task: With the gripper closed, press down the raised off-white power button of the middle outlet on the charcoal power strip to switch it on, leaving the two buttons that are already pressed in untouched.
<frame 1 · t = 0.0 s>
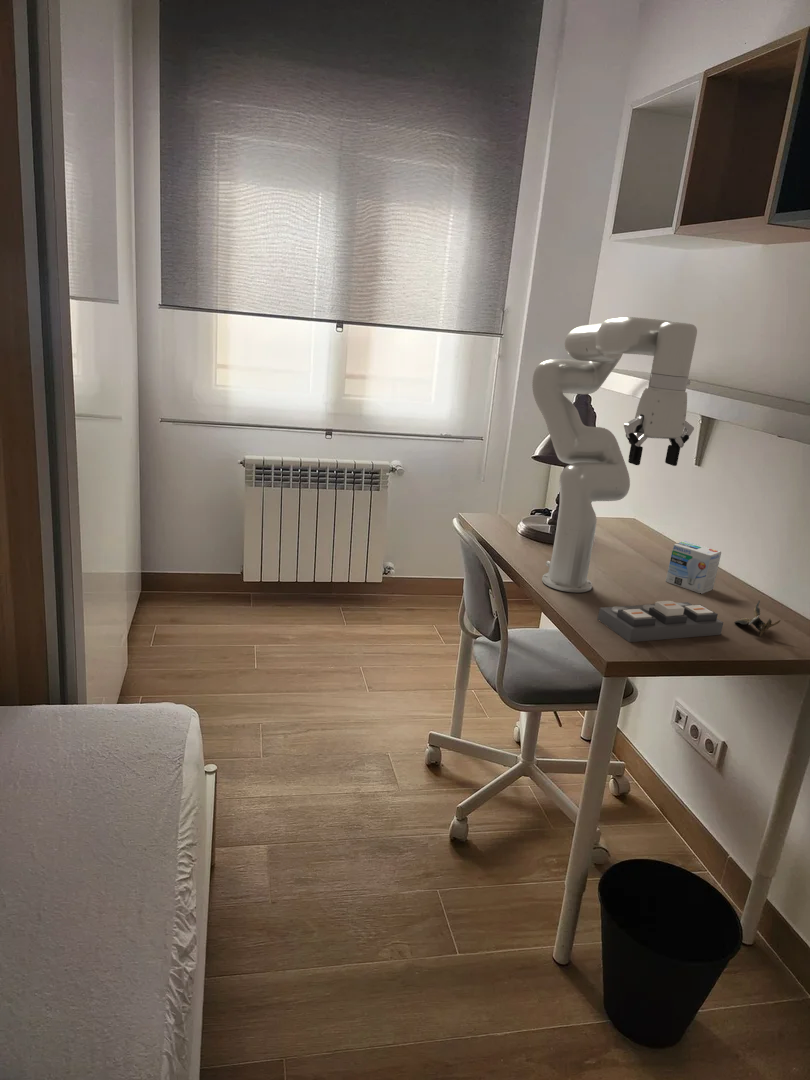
hand: (652, 464, 167), 37 cm above the table, tool pointing down, fingers open, 9 cm apart
eagle figurine: (752, 630, 181), on the table
right button: (698, 612, 177), point 4 cm above the table, slide at 1.5 cm
left button: (636, 616, 170), point 4 cm above the table, slide at 1.5 cm
middle button: (669, 608, 173), point 5 cm above the table, slide at 0.0 cm
light bulb box: (689, 586, 207), on the table
power strip: (658, 627, 176), on the table
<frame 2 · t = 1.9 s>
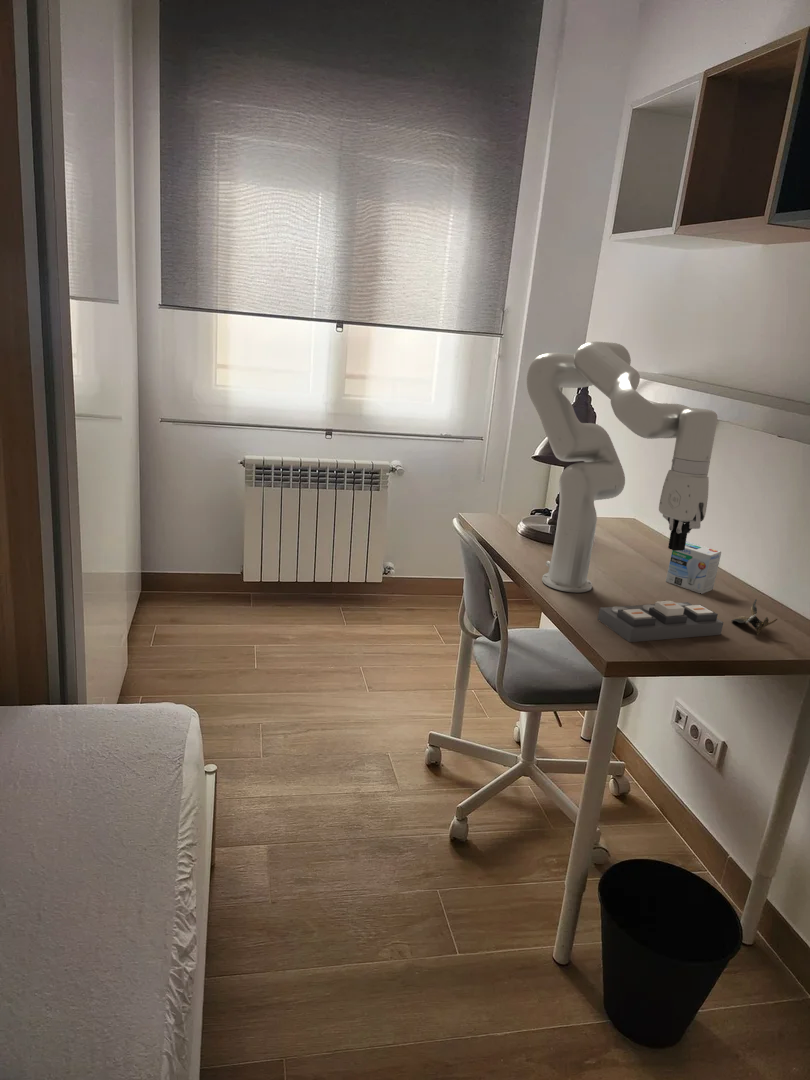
hand: (676, 549, 171), 19 cm above the table, tool pointing down, fingers closed
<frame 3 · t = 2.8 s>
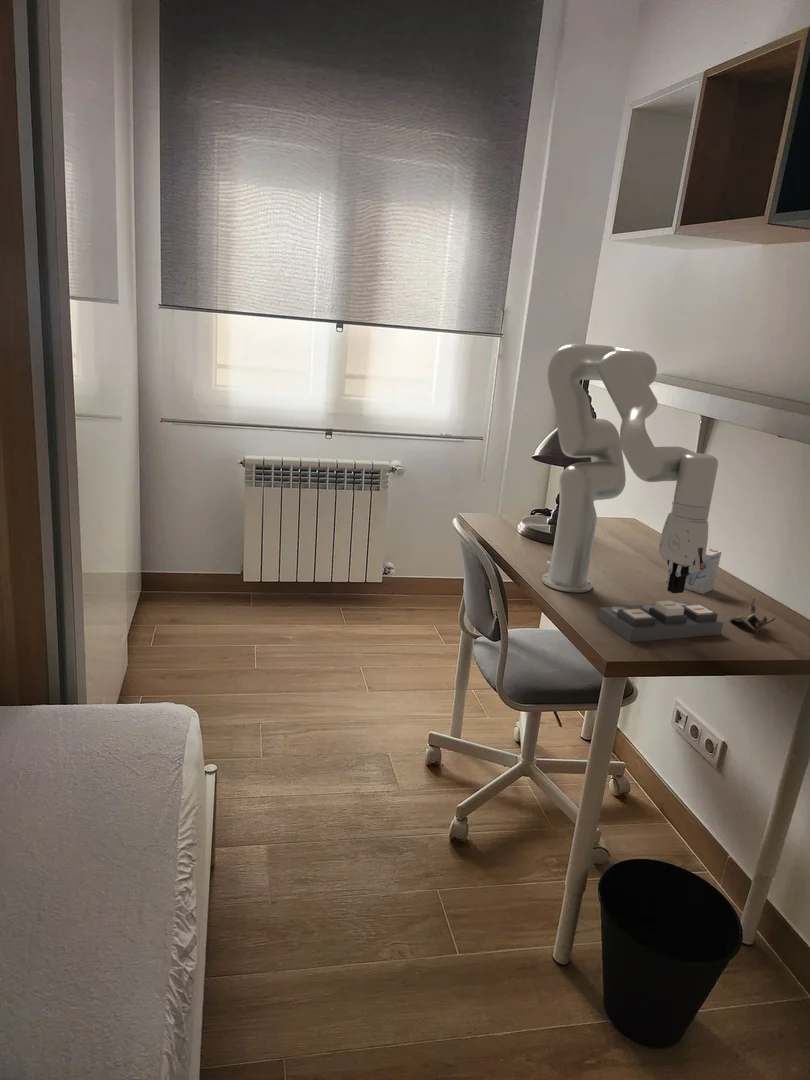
hand: (675, 591, 171), 10 cm above the table, tool pointing down, fingers closed
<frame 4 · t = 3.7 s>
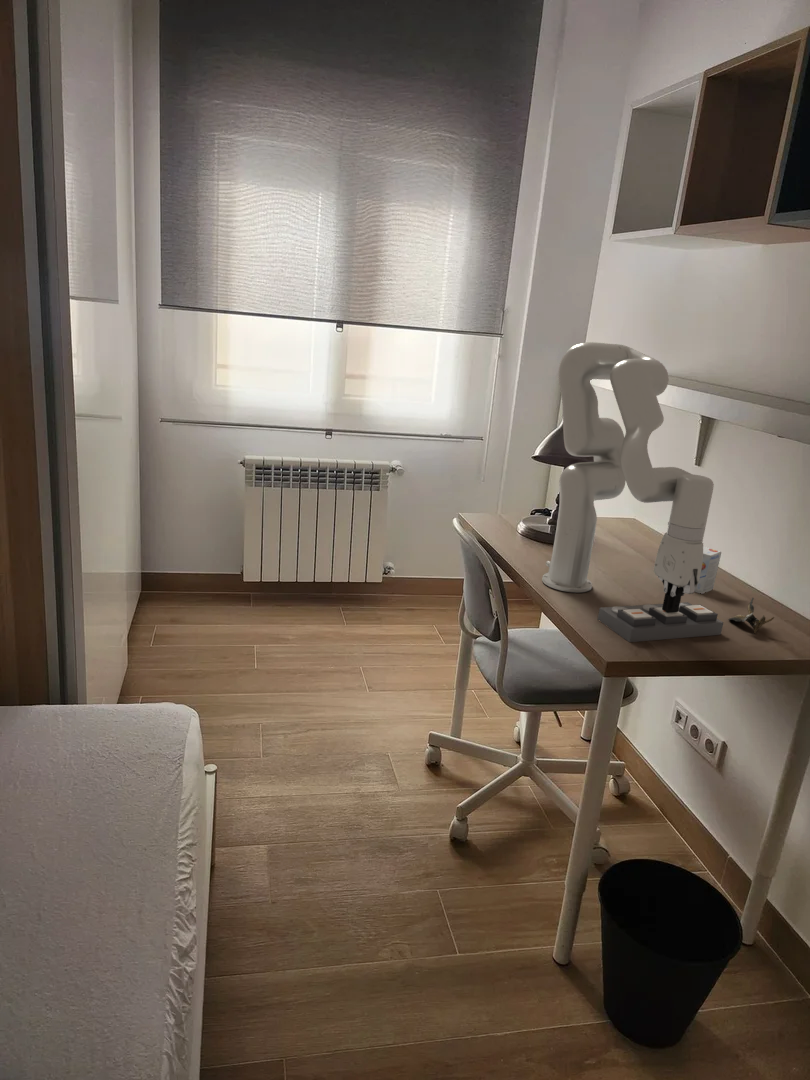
hand: (670, 610, 173), 5 cm above the table, tool pointing down, fingers closed
middle button: (667, 614, 173), point 4 cm above the table, slide at 1.5 cm, touching gripper
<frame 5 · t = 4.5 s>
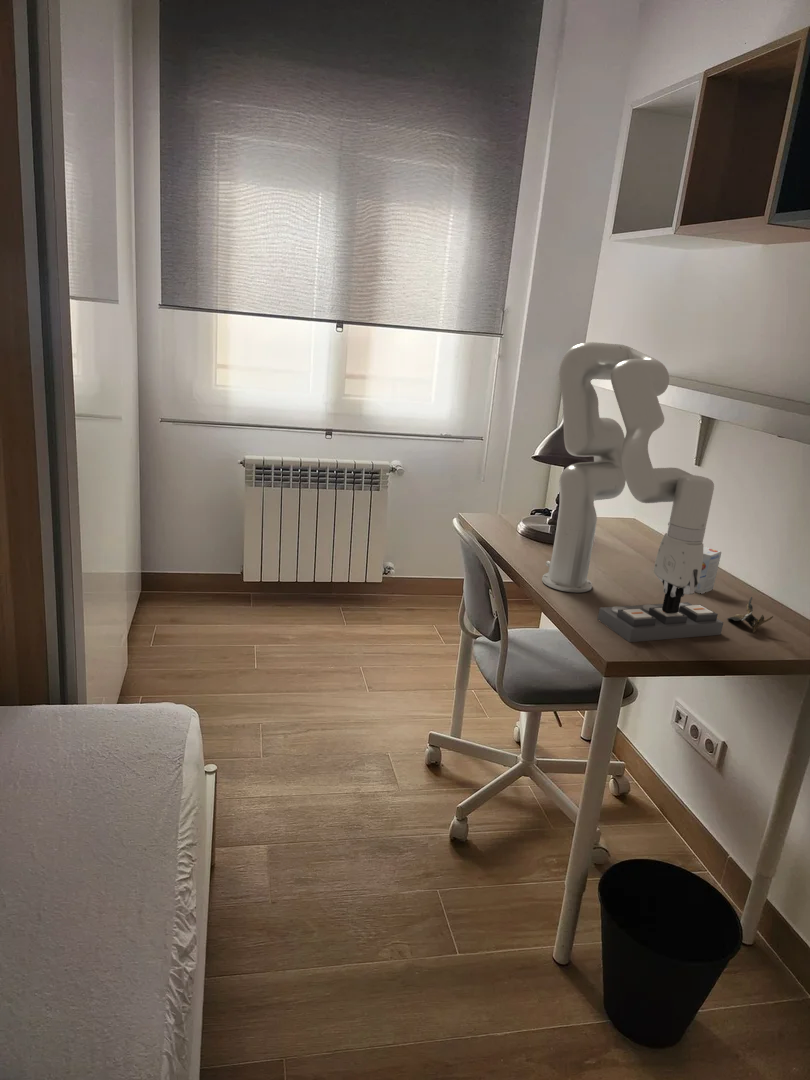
hand: (669, 611, 173), 5 cm above the table, tool pointing down, fingers closed
middle button: (667, 614, 173), point 4 cm above the table, slide at 1.6 cm, touching gripper, power strip
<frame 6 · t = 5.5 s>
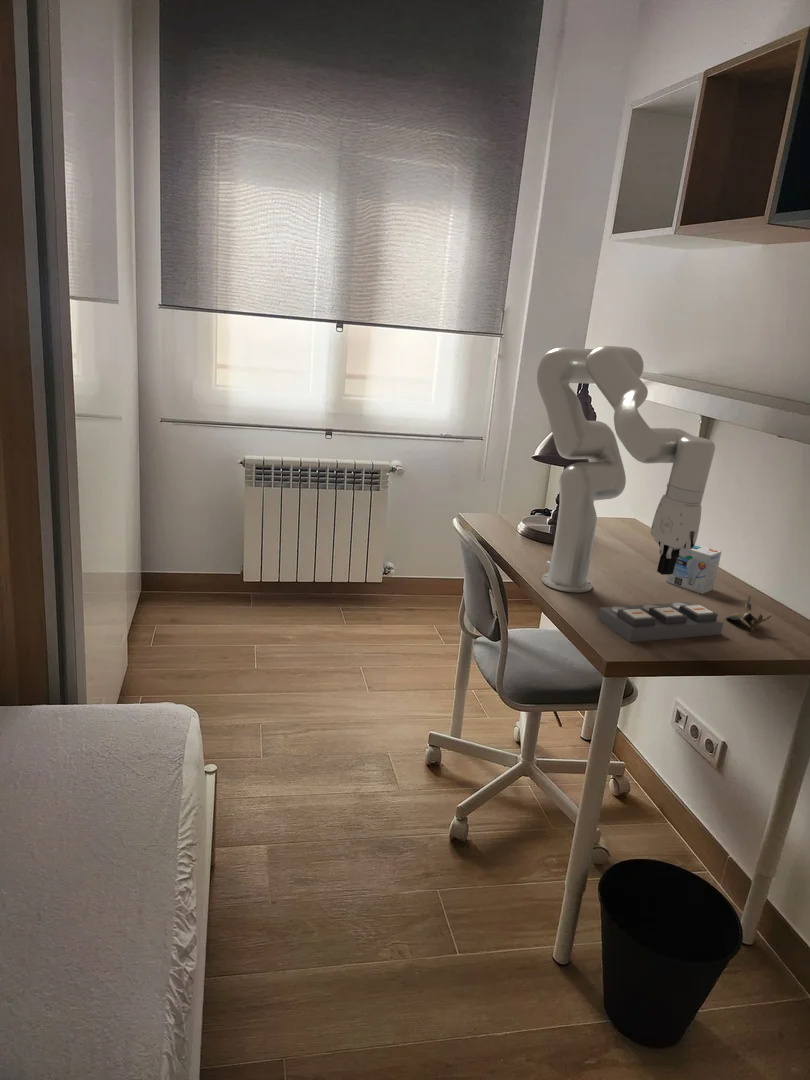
hand: (664, 572, 173), 13 cm above the table, tool pointing down, fingers closed
middle button: (667, 614, 173), point 4 cm above the table, slide at 1.6 cm, touching power strip
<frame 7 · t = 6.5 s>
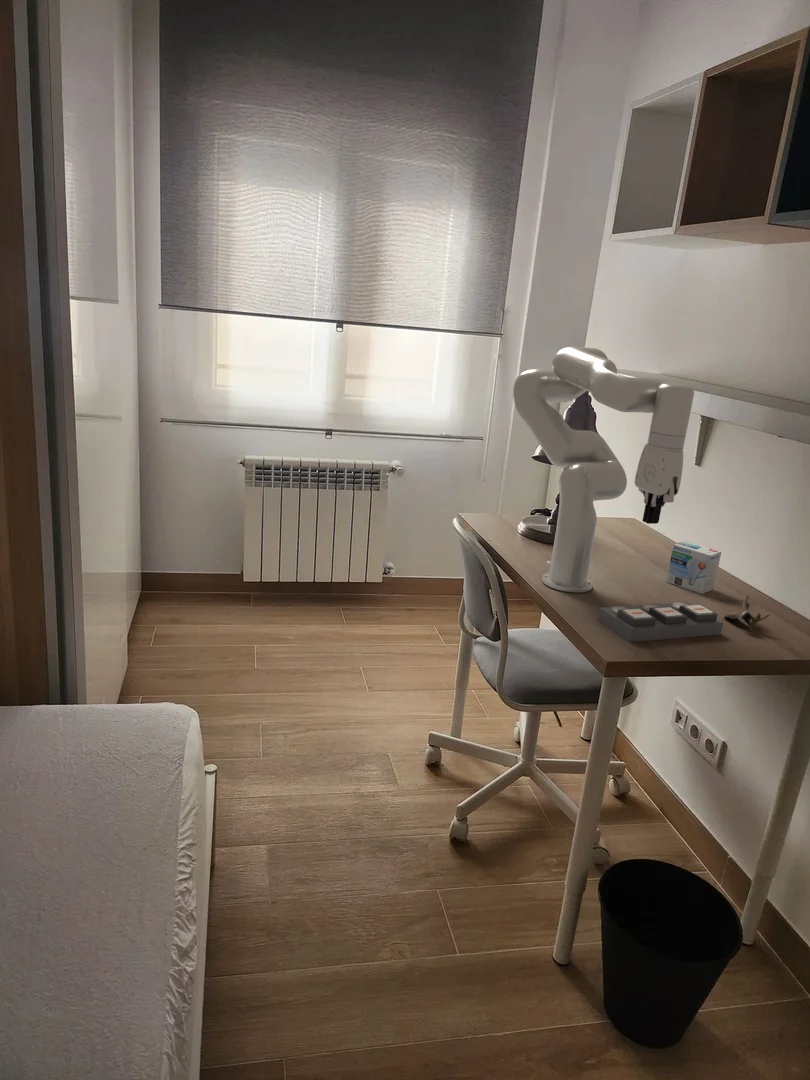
hand: (650, 522, 174), 23 cm above the table, tool pointing down, fingers closed
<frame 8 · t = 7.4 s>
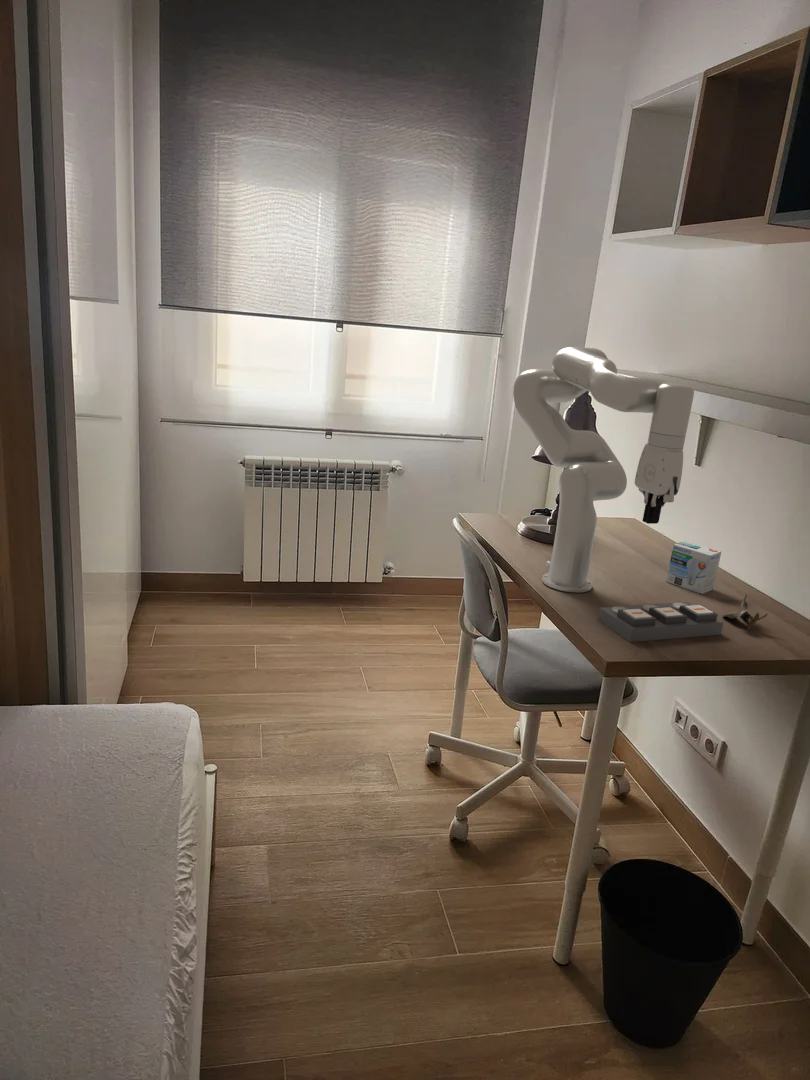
hand: (650, 522, 174), 23 cm above the table, tool pointing down, fingers closed
at the end: middle button slide at 1.6 cm; left button slide at 1.5 cm; right button slide at 1.5 cm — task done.
